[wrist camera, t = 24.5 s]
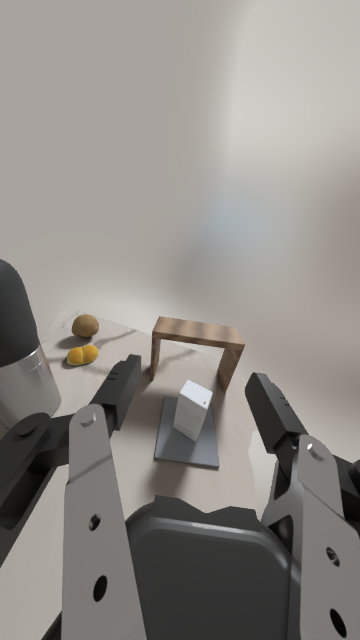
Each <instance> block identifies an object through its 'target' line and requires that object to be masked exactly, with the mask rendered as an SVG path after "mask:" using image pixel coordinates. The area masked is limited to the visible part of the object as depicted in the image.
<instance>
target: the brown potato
mask: <svg viewBox="0 0 360 640" xmlns="http://www.w3.org/2000/svg"><path fill="white" fill-rule="evenodd" d="M98 330H99V324H98V322H97V320H96V318H94V317H93V316H91V315H87V314H85V315H80V316H78V317H77V318H76V319H75V320H74V323H73V326H72V333H73V334H74V335H75V336H80V337H90V336H92V335H94V334H96V333H97V332H98Z"/></svg>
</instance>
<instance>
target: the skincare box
mask: <svg viewBox="0 0 360 640" xmlns="http://www.w3.org/2000/svg"><path fill="white" fill-rule="evenodd" d="M212 395H213V392H211V391H209V390H207V389H205V388H203V387H201V386H199V385H197V384H195V383H193V382H192V381H190V380H187V381H186V383H185V384H184V386H183V387H182V389H181V391H180V392H179V396H178V402H177V408H176V413H175V419H174V424H173V427H174V428H176V429H177V430H179V431H180V432H182V433H183V434H185V435H186V436H187V437H189V438H190V439H192V440H193V441H195V442H196V441H197V438H198V436H199V433H200V431H201V428H202V425H203V422H204V419H205V416H206V413H207V410H208V407H209V404H210V401H211V398H212Z"/></svg>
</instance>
